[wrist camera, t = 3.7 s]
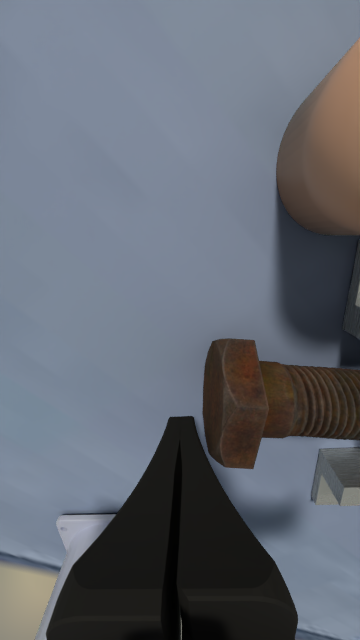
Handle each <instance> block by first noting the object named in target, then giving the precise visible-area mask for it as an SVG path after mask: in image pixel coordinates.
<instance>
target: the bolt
mask: <svg viewBox="0 0 360 640" xmlns="http://www.w3.org/2000/svg"><path fill="white" fill-rule="evenodd" d="M203 418H204V429H205V437H206V442H207V447H208V452H209V454H210V455H211V456H212V457H213V458H214V459H215V460H216V461H217V462H218V463H220V464H221V465H223V466H224V467H227V468H245V469H253V468H254V464H255V461H256V457H257V453H258V449H259V445H260V441H261V438H262V437H264V438H285V437H287V436H307V437H319V438H332V439H344V440H346V439H349V440H360V370H352V369H342V368H327V367H313V366H310V367H308V366H298V365H295V366H294V365H284V364H280V363H278V362H267V361H259V359H258V354H257V350H256V345H255V341H254V340H244V339H219V340H215V341H212V344H211V346H210V348H209V351H208V355H207V359H206V363H205V372H204V386H203Z"/></svg>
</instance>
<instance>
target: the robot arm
mask: <svg viewBox="0 0 360 640" xmlns="http://www.w3.org/2000/svg"><path fill="white" fill-rule="evenodd" d="M56 525H57V527H58V530H59V533H60V535H61V538H62V541H63V543H64V546H65V548H66V551H67V554H66V557H65V559H64V562H63V565H62V567H61V570H60V573H59V575H58V578H57V581H56V583H55V586H54V589H53V592H52V594H51V597H50V600H49V602H48V605H47V608H46V610H45V613H44V616H43V618H42V621H41V624H40V627H39V629H38V632H37V634H36V637H35V640H181V620H182V640H295V634H296V629H297V624H298V615H297V611H296V608H295V605H294V603H293V600H292V597H291V595H290V593H289V590H288V588H287V586H286V584H285V581H284V579H283V577H282V575H281V573H280V571H279V569H278V567H277V565H276V563H275V561H274V560H273V559H272V558H271V556H270V555H269V554H268V553H267V551H266V550H265V549H264V548H263V546H262V545H261V544H260V542H259V541H258V540H257V539H256V537H255V536H254V535H253V533H252V532H251V530H250V529H249V528H248V526H247V525H246V524H245V522H244V521H243V519H242V518H241V516H240V515H239V513H238V512H237V510H236V509H235V507H234V506H233V504H232V503H231V501H230V500H229V498H228V496H227V495H226V493H225V491H224V490H223V488H222V486H221V484H220V483H219V481H218V479H217V477H216V475H215V473H214V471H213V469H212V467H211V465H210V463H209V461H208V459H207V457H206V454H205V452H204V450H203V447H202V445H201V442H200V439H199V436H198V433H197V430H196V426H195V421H194V417H192V416H183V417H170V418H169V419H168V423H167V426H166V429H165V431H164V434H163V436H162V439H161V441H160V443H159V445H158V448H157V450H156V452H155V454H154V456H153V458H152V460H151V462H150V463H149V465H148V467H147V469H146V471H145V473H144V474H143V476H142V478H141V479H140V481H139V482H138V484H137V486H136V487H135V489H134V490H133V492H132V493H131V495H130V496H129V498H128V499H127V500H126V502H125V503H124V505H123V506H122V507H121V509H120V510H119V512H118V513H117V514H101V515H61V516H60V517H59V518H58V520H57V522H56Z"/></svg>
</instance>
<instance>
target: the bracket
mask: <svg viewBox="0 0 360 640" xmlns="http://www.w3.org/2000/svg"><path fill="white" fill-rule="evenodd" d="M342 329H343V330H345V331H346V332H348V333H350V334H351V335H353V336H355V337H356V338H358V339H360V240H359V241H358V246H357V252H356V257H355V262H354V268H353V273H352V279H351V284H350V289H349V295H348V300H347V306H346V311H345V316H344V322H343V327H342ZM311 496H312V498H313V500H314V503H315V505H336V504H339V505H340V506H358V505H360V448H336V449H320V451H319V457H318V462H317V468H316V473H315V478H314V484H313V489H312V495H311Z"/></svg>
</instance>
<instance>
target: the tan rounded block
mask: <svg viewBox="0 0 360 640" xmlns="http://www.w3.org/2000/svg"><path fill="white" fill-rule="evenodd" d="M276 177H277V186H278V190H279V194H280V197H281V200H282V203H283V205H284V207H285V208H286V210H287V212H288V213H289V214H290V216H291V217H292V218H293V219H294V220H295V221H296V222H297V223H298V224H299V225H301V226H302V227H304V228H305V229H307V230H309V231H312V232H314V233H318V234H322V235H360V38H359V39H358V40H357V41H356V42H355V43H354V45H353V46H352V47H351V48H350V49H349V50H348V51H347V52H346V54H345V55H344V56H343V57H342V58H341V59H340V60H339V62H338V63H337V64H336V65H335V66H334V67H333V68H332V70H331V71H330V72H329V73H328V74H327V75H326V76H325V78H324V79H323V80H322V81H321V82H320V83H319V84H318V85H317V87H316V88H315V89H314V90H313V91H312V92H311V93H310V95H309V96H308V97H307V98H306V99H305V100H304V101H303V103H302V104H301V105H300V107H299V108H298V109H297V111H296V112H295V114H294V115H293V117H292V119H291V120H290V122H289V124H288V126H287V128H286V130H285V133H284V135H283V138H282V141H281V144H280V148H279V152H278V158H277V168H276Z"/></svg>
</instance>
